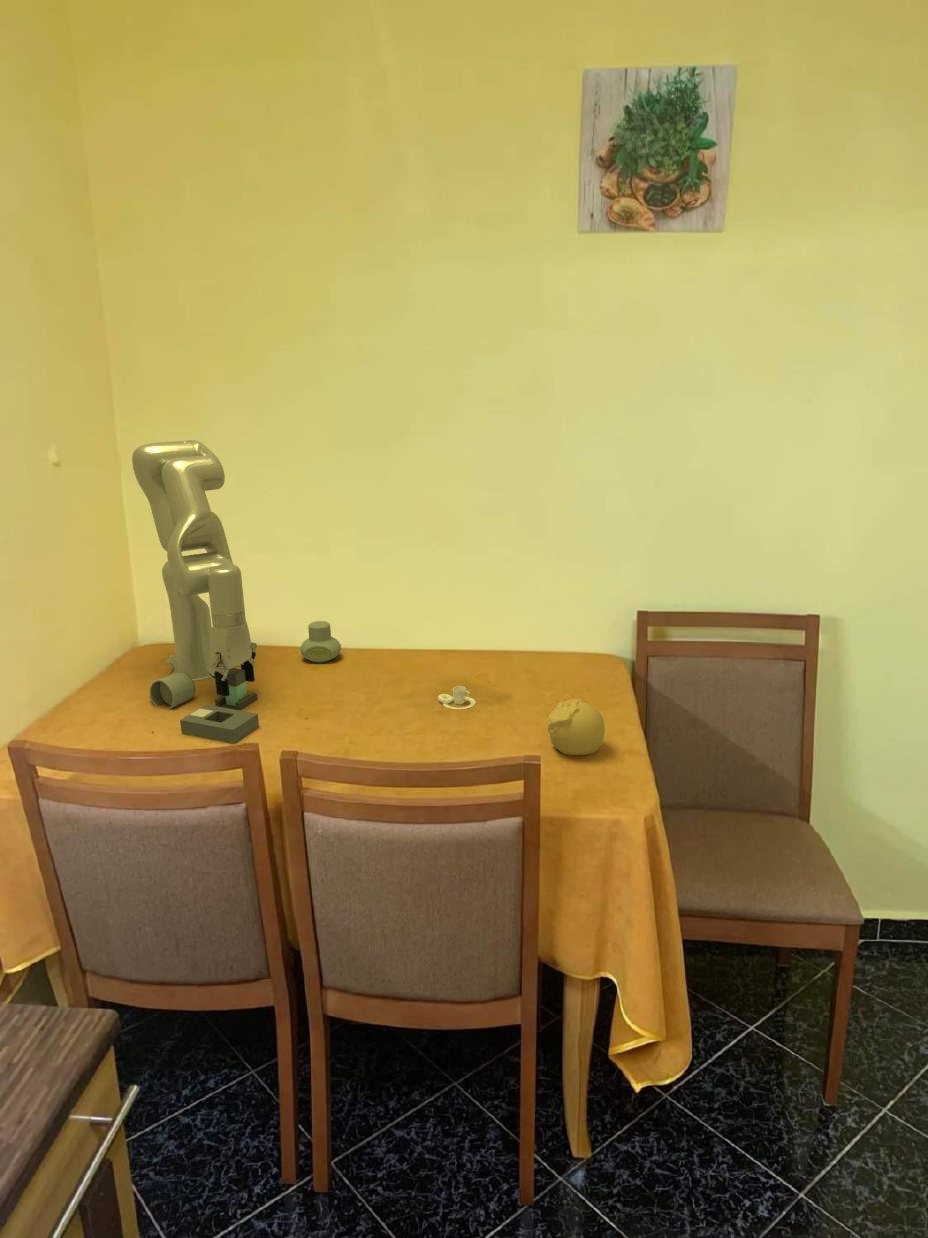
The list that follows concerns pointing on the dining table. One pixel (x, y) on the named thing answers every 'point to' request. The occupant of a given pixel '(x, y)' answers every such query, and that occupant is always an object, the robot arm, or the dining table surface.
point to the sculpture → (576, 727)
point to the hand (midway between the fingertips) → (236, 687)
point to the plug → (236, 686)
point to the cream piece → (456, 698)
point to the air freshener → (320, 643)
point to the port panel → (219, 723)
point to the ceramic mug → (172, 690)
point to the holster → (240, 704)
